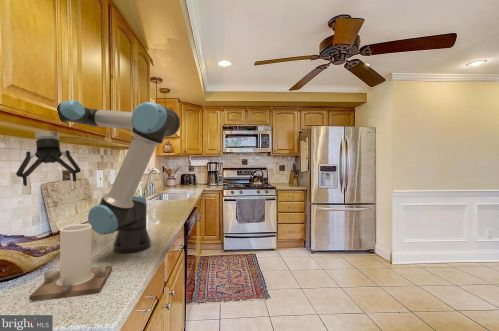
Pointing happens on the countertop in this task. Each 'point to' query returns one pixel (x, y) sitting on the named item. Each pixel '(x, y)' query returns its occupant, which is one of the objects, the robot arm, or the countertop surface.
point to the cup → (75, 252)
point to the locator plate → (66, 289)
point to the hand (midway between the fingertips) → (51, 191)
